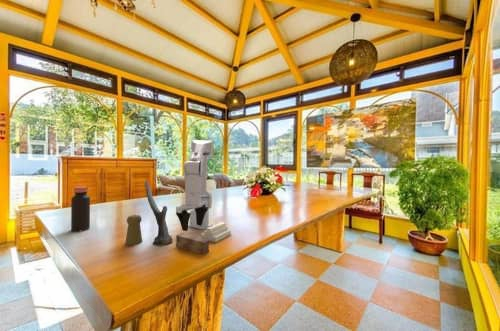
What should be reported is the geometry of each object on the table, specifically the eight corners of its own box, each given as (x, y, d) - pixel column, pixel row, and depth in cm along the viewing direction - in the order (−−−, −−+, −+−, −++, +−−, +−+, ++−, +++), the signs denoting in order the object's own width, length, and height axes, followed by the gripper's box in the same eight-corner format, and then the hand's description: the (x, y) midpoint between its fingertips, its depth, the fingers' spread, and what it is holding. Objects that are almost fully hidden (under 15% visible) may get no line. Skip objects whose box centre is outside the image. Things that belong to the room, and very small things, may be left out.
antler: (175, 238, 88) (176, 180, 87) (168, 246, 80) (169, 182, 80) (147, 238, 88) (148, 180, 87) (138, 246, 80) (139, 182, 79)
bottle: (67, 230, 95) (68, 187, 94) (84, 226, 101) (84, 185, 101) (76, 232, 92) (77, 188, 92) (93, 228, 98) (93, 186, 98)
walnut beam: (176, 246, 81) (176, 235, 81) (182, 243, 84) (182, 232, 83) (203, 255, 74) (203, 242, 74) (208, 252, 77) (208, 240, 77)
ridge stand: (201, 238, 89) (201, 227, 89) (216, 231, 99) (217, 220, 99) (215, 242, 85) (216, 230, 85) (230, 234, 95) (230, 223, 95)
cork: (124, 246, 79) (124, 218, 79) (125, 240, 85) (126, 214, 84) (142, 243, 82) (142, 216, 82) (142, 238, 87) (142, 213, 87)
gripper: (186, 196, 70) (185, 235, 70) (213, 191, 83) (212, 224, 83) (172, 194, 73) (171, 231, 74) (200, 189, 86) (199, 221, 86)
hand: (192, 227), depth 79 cm, fingers open, 7 cm apart
